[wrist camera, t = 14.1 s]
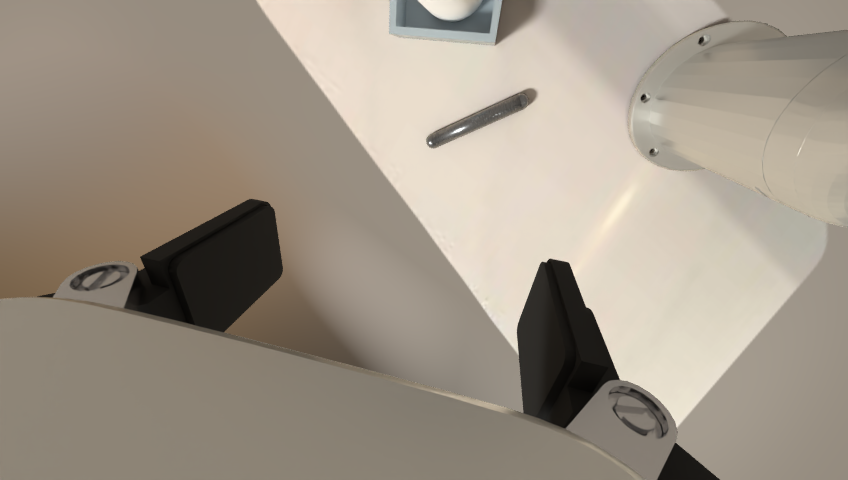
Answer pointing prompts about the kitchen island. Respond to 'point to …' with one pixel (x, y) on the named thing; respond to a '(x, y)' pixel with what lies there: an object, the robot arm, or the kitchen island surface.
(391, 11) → the light blue tray
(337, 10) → the kitchen island surface
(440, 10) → the can
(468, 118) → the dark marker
